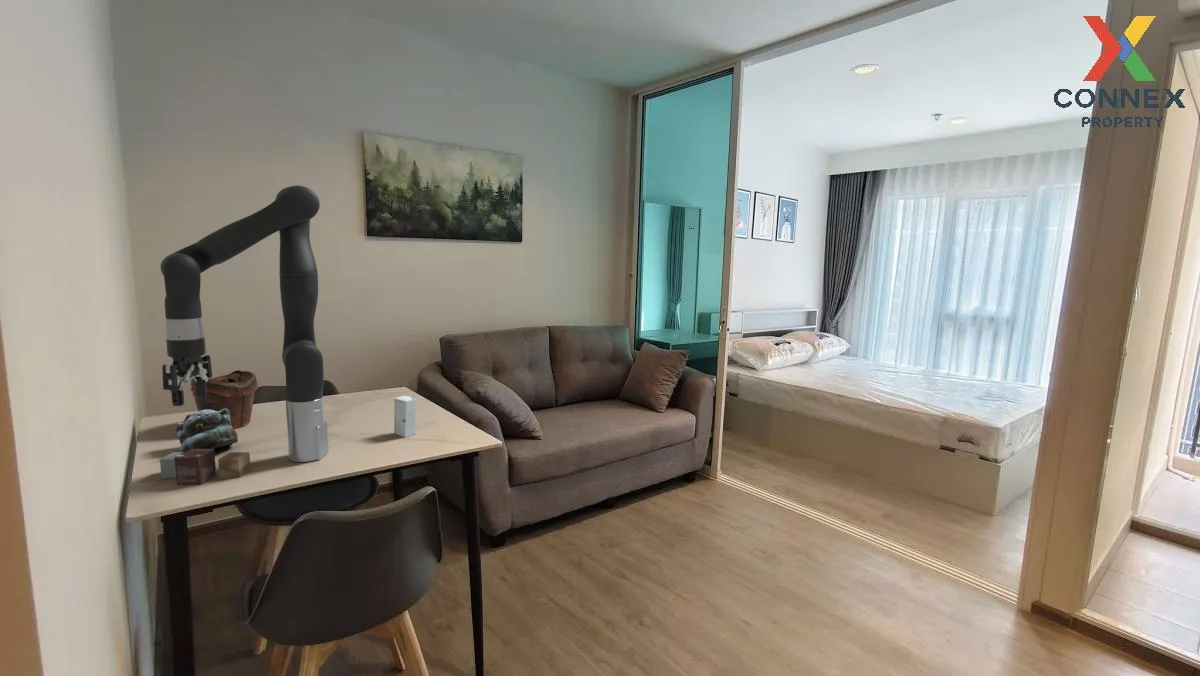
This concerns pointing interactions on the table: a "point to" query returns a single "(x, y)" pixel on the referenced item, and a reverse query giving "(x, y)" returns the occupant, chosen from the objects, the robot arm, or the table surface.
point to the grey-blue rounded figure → (206, 430)
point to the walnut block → (234, 464)
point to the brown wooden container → (230, 395)
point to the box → (195, 466)
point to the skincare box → (405, 416)
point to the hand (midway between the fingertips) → (190, 400)
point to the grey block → (168, 465)
